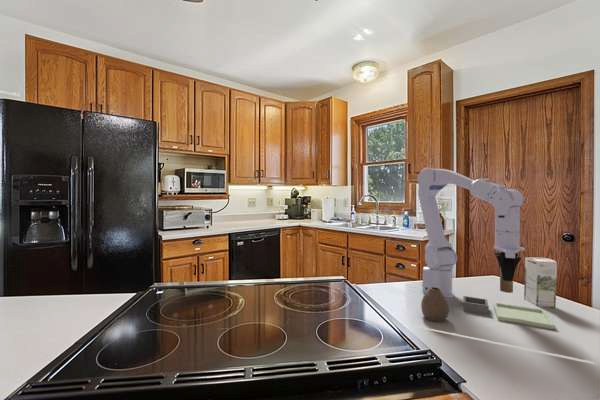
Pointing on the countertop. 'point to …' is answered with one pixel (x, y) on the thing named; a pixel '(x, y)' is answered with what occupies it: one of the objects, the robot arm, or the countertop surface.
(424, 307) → the vase
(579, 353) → the countertop surface
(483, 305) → the square holder
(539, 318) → the tray
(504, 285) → the dowel
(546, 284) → the syrup box
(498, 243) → the robot arm
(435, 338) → the countertop surface
